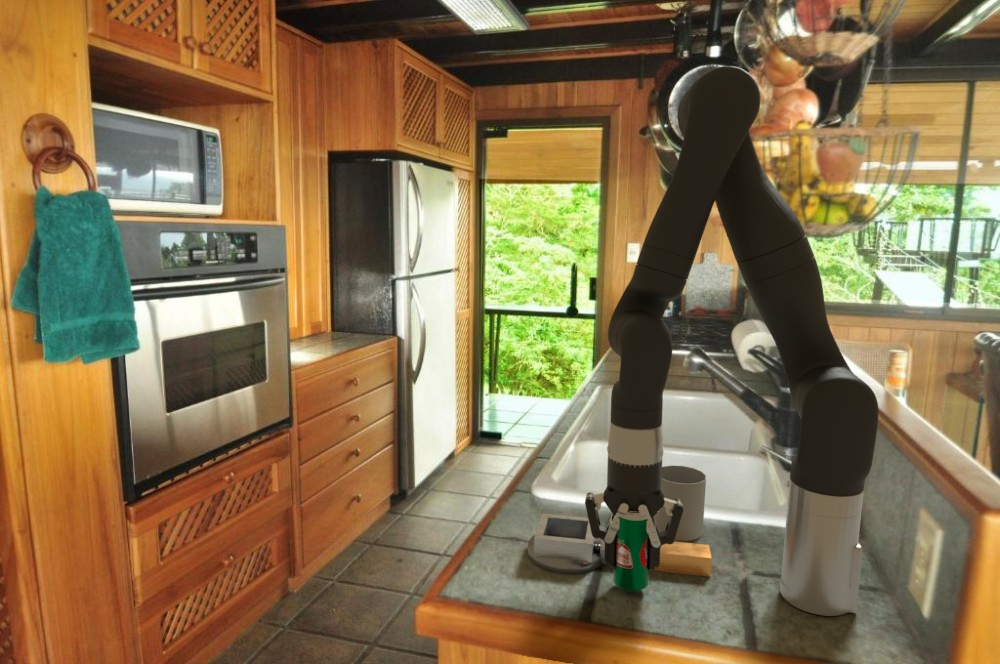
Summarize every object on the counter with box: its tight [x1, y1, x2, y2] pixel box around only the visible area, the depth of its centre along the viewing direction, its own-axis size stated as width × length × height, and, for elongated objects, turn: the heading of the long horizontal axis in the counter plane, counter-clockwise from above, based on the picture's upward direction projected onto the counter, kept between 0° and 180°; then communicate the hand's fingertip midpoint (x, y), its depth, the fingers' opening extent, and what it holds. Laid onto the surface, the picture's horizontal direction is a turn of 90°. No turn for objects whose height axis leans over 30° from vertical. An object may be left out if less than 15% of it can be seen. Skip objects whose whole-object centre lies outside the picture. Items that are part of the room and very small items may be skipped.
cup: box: [654, 464, 707, 542], centre depth 117 cm, size 8×8×10 cm
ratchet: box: [527, 513, 713, 577], centre depth 107 cm, size 28×12×4 cm, turn 78°
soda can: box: [612, 510, 650, 593], centre depth 98 cm, size 5×5×12 cm
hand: (631, 565), depth 98 cm, fingers closed on soda can, 5 cm apart
